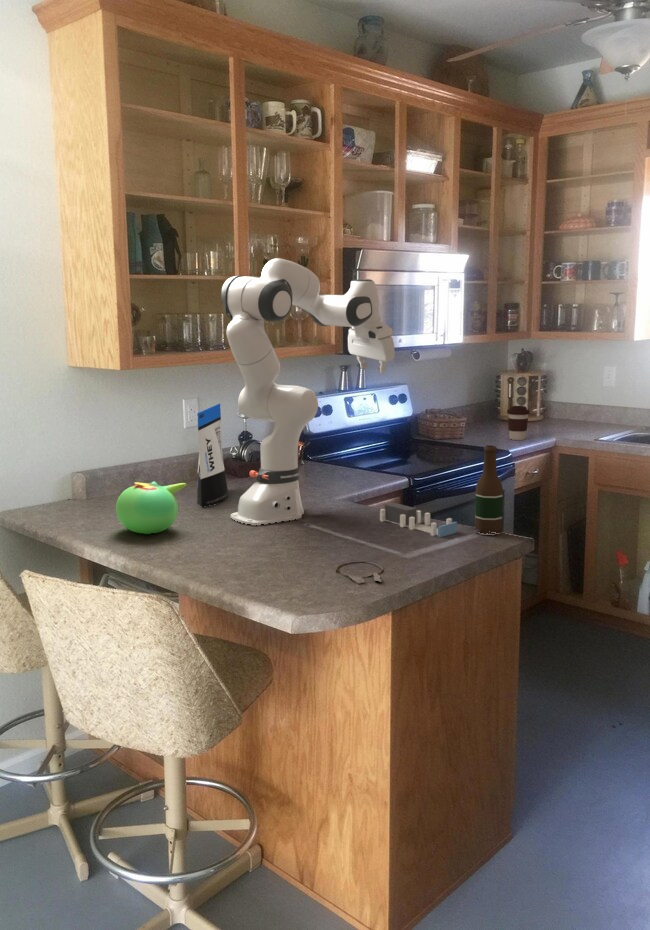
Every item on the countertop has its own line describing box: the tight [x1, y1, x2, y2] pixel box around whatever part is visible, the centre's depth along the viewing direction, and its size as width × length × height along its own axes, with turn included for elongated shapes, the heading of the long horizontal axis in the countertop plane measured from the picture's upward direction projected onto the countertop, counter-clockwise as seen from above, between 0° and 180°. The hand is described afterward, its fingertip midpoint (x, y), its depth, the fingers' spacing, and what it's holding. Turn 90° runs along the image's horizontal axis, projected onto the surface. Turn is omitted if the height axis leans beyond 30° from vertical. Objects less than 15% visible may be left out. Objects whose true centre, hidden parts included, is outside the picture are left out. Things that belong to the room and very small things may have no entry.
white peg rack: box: [379, 508, 458, 538], centre depth 223 cm, size 8×24×4 cm, turn 40°
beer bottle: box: [474, 445, 504, 534], centre depth 218 cm, size 8×8×24 cm
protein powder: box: [196, 403, 230, 508], centre depth 259 cm, size 10×24×30 cm, turn 171°
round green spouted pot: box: [115, 481, 187, 535], centre depth 224 cm, size 18×17×15 cm
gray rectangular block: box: [384, 502, 417, 527], centre depth 228 cm, size 4×10×4 cm, turn 40°
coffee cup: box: [506, 405, 530, 441], centre depth 366 cm, size 10×10×15 cm
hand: (372, 370), depth 263 cm, fingers open, 8 cm apart
